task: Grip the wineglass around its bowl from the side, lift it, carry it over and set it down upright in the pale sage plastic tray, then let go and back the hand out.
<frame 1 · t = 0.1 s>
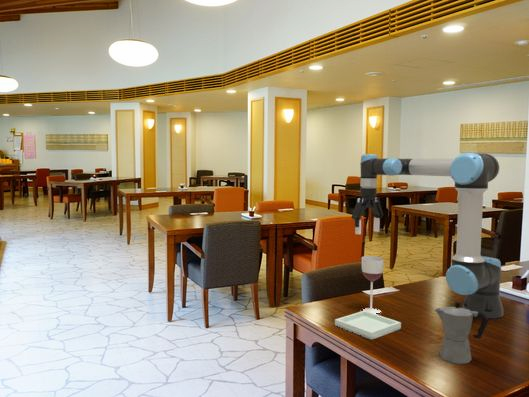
hand: (367, 232, 215), 28 cm above the table, tool pointing down, fingers open, 13 cm apart
coffeepot: (459, 359, 144), on the table
tray: (367, 327, 170), on the table
wineglass: (371, 311, 189), on the table
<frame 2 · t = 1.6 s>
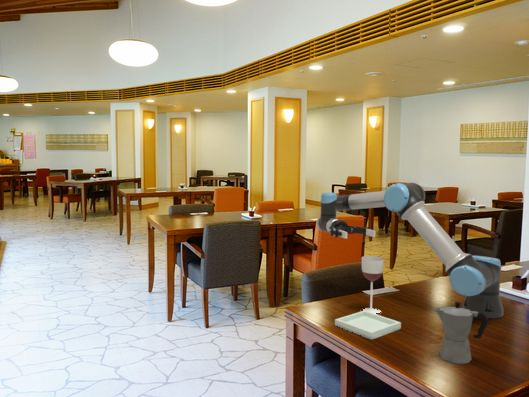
hand: (360, 234, 195), 30 cm above the table, tool horizontal, fingers open, 13 cm apart
nothing on the table moved.
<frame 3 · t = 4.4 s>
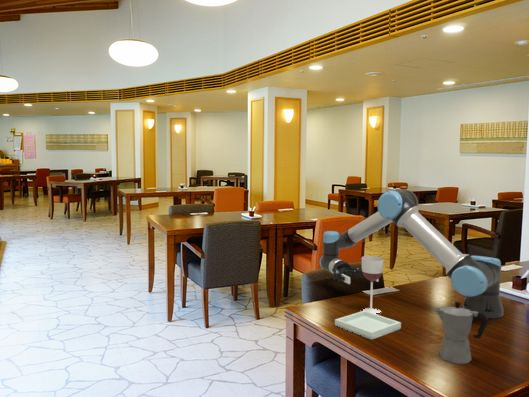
hand: (363, 279, 193), 12 cm above the table, tool horizontal, fingers open, 13 cm apart
nothing on the table moved.
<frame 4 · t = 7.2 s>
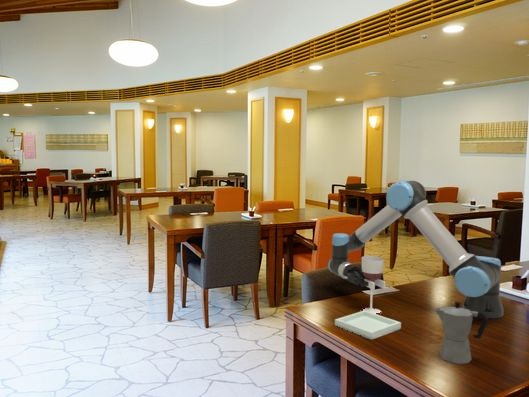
hand: (379, 285, 183), 12 cm above the table, tool horizontal, fingers closed on wineglass, 4 cm apart
wineglass: (371, 311, 189), on the table, touching gripper
everything else where it was.
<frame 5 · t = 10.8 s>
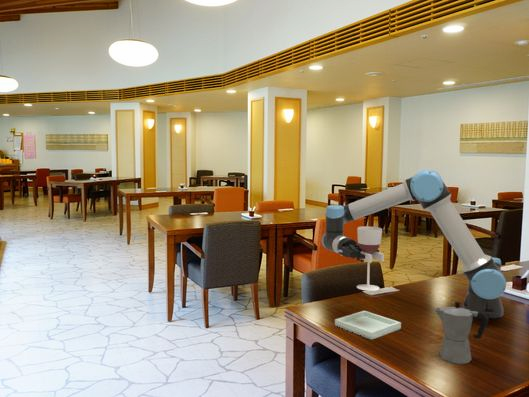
hand: (376, 258, 163), 27 cm above the table, tool horizontal, fingers closed on wineglass, 4 cm apart
wineglass: (368, 287, 169), point 15 cm above the table, touching gripper
everything else where it was.
when the fingers open (14 cm above the table, at t = 14.7 s): wineglass drops 1 cm, resting on tray.
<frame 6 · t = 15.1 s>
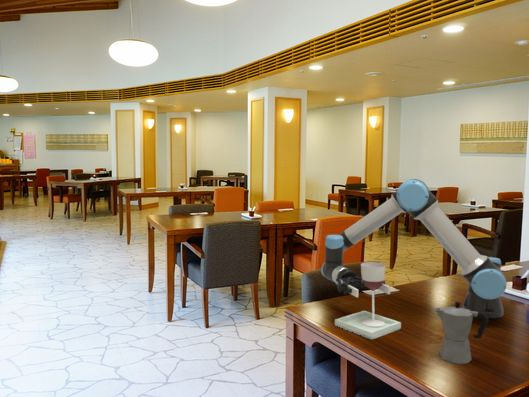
hand: (373, 292, 166), 14 cm above the table, tool horizontal, fingers open, 12 cm apart
wineglass: (373, 323, 172), point 1 cm above the table, touching gripper, tray
everything else where it was.
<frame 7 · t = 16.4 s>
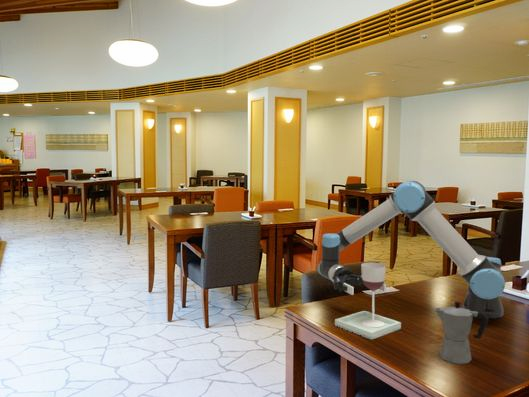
hand: (369, 289, 168), 14 cm above the table, tool horizontal, fingers open, 13 cm apart
wineglass: (373, 323, 172), point 1 cm above the table, touching tray
everything else where it was.
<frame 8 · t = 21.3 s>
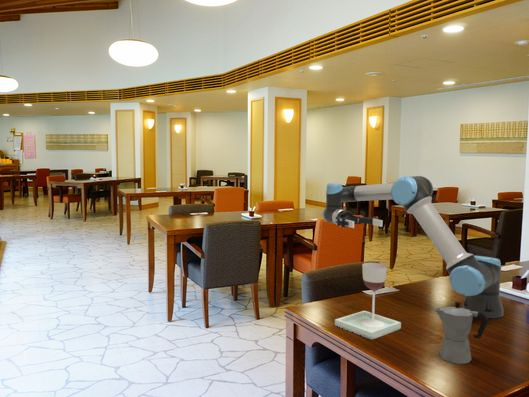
hand: (367, 224, 193), 35 cm above the table, tool horizontal, fingers open, 13 cm apart
nothing on the table moved.
at the end: wineglass inside the target area on the tray (3.1 cm from its centre), point 0.6 cm above the tray's base; wineglass tilted 0°; the gripper is holding nothing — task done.
